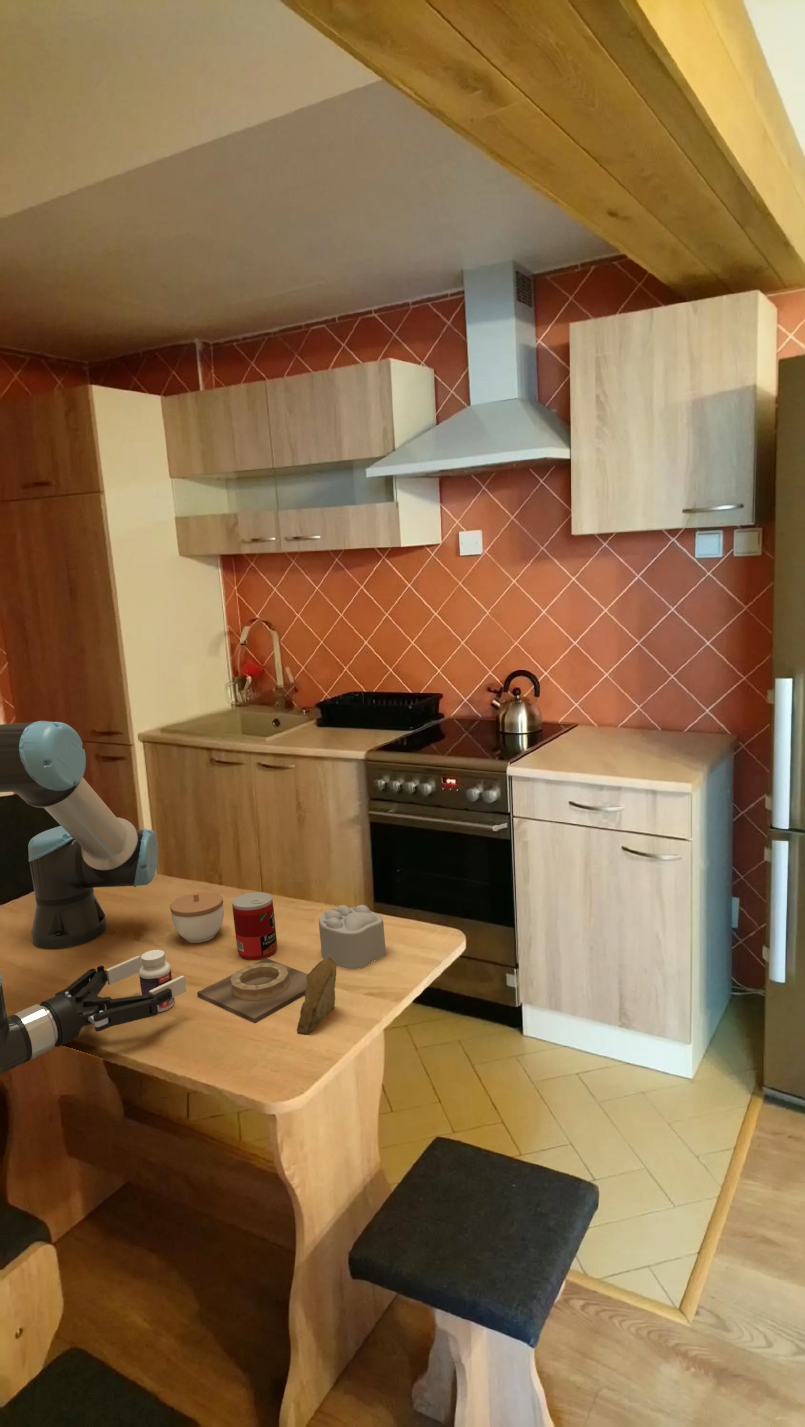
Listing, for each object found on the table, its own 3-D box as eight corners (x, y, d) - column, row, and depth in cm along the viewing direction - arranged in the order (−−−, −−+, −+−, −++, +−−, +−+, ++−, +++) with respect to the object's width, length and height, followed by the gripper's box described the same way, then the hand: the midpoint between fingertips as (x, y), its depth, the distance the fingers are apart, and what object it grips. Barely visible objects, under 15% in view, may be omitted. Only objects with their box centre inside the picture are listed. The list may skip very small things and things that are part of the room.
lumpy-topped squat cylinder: (353, 973, 164) (349, 929, 162) (308, 954, 173) (304, 912, 171) (393, 952, 171) (389, 910, 169) (347, 935, 180) (344, 895, 178)
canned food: (270, 961, 171) (264, 907, 169) (231, 960, 173) (225, 906, 171) (283, 943, 178) (278, 892, 176) (245, 942, 180) (240, 891, 178)
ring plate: (197, 996, 159) (195, 981, 158) (266, 961, 171) (264, 948, 170) (254, 1022, 148) (253, 1007, 148) (323, 984, 160) (322, 969, 160)
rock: (312, 1031, 140) (359, 998, 147) (284, 984, 142) (331, 954, 148) (288, 1046, 148) (333, 1015, 155) (262, 1002, 150) (307, 972, 156)
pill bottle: (167, 1014, 153) (160, 961, 152) (138, 1013, 154) (131, 961, 153) (179, 998, 159) (173, 947, 157) (151, 998, 160) (145, 947, 158)
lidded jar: (209, 950, 178) (204, 906, 176) (164, 945, 181) (158, 902, 180) (236, 927, 188) (231, 885, 186) (192, 924, 191) (187, 882, 189)
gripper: (14, 1023, 150) (125, 974, 165) (90, 1073, 133) (206, 1013, 149) (7, 982, 148) (120, 936, 164) (83, 1028, 132) (201, 971, 147)
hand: (161, 972), depth 156 cm, fingers open, 13 cm apart
